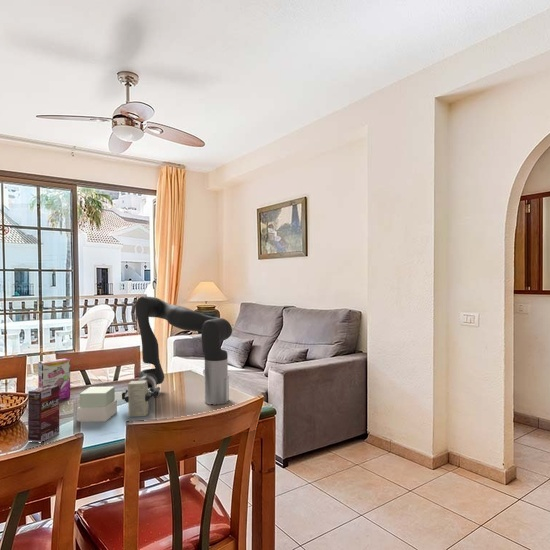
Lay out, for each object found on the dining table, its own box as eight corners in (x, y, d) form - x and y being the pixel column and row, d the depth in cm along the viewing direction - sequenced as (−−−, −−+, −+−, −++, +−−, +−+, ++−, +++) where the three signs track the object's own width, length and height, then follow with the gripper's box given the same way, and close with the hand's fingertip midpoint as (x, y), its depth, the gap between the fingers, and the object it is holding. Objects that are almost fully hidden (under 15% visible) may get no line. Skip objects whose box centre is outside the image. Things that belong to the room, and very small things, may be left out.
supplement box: (41, 444, 129) (40, 392, 128) (27, 442, 130) (26, 391, 129) (60, 433, 137) (60, 384, 137) (47, 432, 138) (47, 384, 138)
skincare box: (148, 412, 157) (148, 380, 157) (145, 416, 152) (144, 383, 152) (131, 413, 156) (131, 380, 156) (127, 417, 152) (127, 383, 152)
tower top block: (114, 399, 158) (114, 386, 158) (105, 407, 149) (105, 393, 149) (90, 400, 157) (90, 386, 157) (79, 407, 148) (79, 393, 148)
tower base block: (117, 412, 158) (116, 399, 158) (105, 422, 148) (105, 408, 148) (90, 412, 158) (90, 399, 158) (77, 422, 148) (77, 408, 148)
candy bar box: (42, 404, 168) (41, 363, 168) (38, 401, 172) (37, 361, 172) (71, 398, 176) (70, 359, 176) (66, 395, 180) (66, 357, 180)
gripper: (126, 378, 167) (116, 389, 151) (163, 376, 169) (157, 387, 153) (126, 397, 167) (116, 410, 151) (163, 395, 169) (157, 408, 153)
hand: (136, 398), depth 152 cm, fingers closed on skincare box, 6 cm apart
